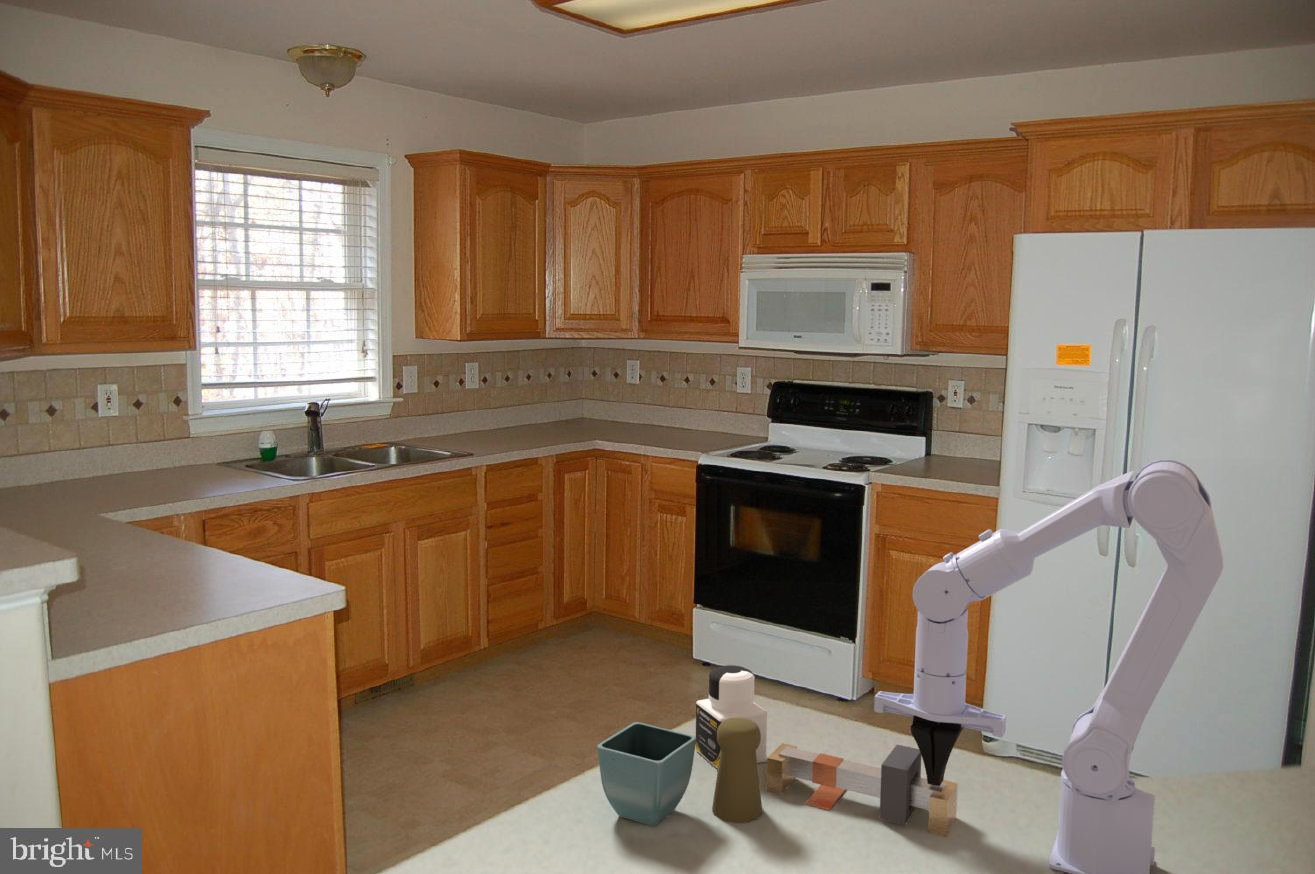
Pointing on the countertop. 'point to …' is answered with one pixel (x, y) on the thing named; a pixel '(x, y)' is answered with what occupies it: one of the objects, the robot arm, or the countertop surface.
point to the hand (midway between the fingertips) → (935, 781)
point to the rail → (855, 783)
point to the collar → (898, 783)
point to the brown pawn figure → (738, 772)
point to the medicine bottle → (728, 710)
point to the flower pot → (646, 771)
